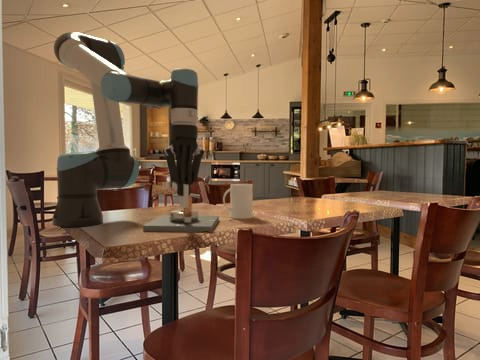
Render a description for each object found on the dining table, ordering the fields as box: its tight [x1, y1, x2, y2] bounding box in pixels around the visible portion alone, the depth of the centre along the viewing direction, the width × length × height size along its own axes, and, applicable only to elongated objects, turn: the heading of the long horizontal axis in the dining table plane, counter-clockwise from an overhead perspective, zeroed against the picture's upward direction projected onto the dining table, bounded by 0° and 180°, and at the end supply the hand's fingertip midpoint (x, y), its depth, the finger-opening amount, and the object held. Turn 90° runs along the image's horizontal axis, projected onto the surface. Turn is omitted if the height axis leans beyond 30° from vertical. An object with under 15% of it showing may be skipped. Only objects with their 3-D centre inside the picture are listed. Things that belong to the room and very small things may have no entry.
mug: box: [222, 183, 254, 220], centre depth 133 cm, size 12×8×12 cm
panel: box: [142, 214, 220, 233], centre depth 117 cm, size 20×20×2 cm
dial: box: [169, 196, 199, 222], centre depth 114 cm, size 15×9×8 cm, turn 16°
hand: (183, 206), depth 106 cm, fingers closed
